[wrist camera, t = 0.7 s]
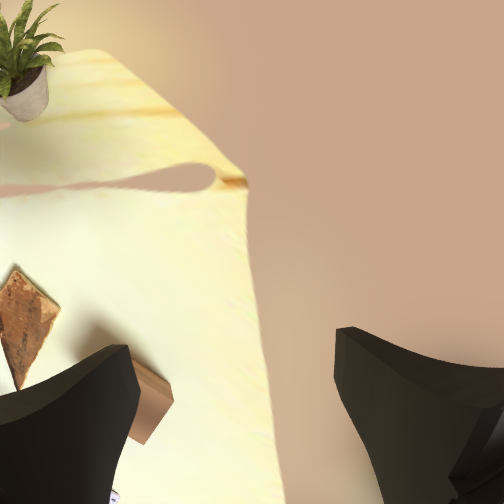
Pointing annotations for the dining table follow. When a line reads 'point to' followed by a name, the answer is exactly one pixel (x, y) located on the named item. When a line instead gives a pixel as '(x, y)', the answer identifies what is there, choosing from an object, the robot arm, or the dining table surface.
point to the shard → (24, 324)
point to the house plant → (24, 67)
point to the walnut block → (149, 403)
